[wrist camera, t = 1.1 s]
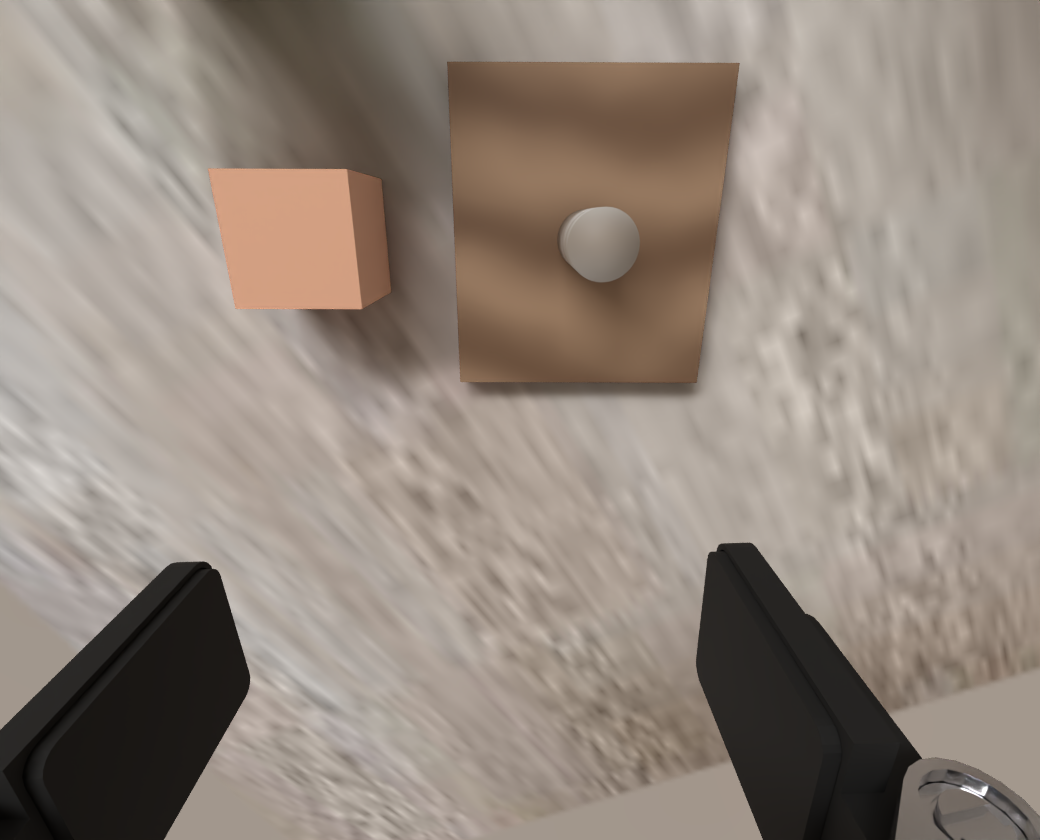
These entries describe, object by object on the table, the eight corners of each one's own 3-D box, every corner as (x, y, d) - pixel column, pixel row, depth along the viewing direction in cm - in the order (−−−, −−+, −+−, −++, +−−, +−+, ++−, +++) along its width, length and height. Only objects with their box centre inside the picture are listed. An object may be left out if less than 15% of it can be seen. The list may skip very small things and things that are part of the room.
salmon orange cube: (270, 178, 28) (207, 168, 22) (381, 178, 28) (347, 169, 22) (288, 291, 30) (235, 308, 24) (391, 292, 30) (361, 309, 24)
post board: (451, 70, 26) (423, 10, 19) (727, 71, 26) (811, 12, 19) (463, 374, 32) (445, 422, 24) (688, 375, 32) (740, 423, 24)
